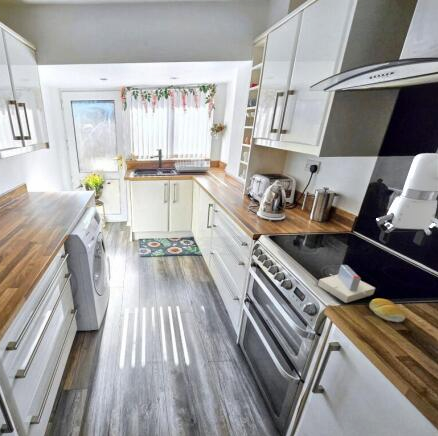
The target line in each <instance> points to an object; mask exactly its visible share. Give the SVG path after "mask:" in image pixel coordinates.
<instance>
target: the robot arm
mask: <svg viewBox="0 0 438 436" xmlns="http://www.w3.org/2000/svg"><path fill="white" fill-rule="evenodd" d="M437 198H438V153H436V152H435V153H433V152H431V153H429V152H426V153H419V154H417V155H416V156H414V157H413V160H412V163H411V165H410V168H409V171H408V173H407V176H406V179H405V183H404V185H403V188H402V190H401V194H400V195H399V196H396V197H395V199H394V200H393V201H392V204H391V205H390V207H389V209H388V211H387V212H386V215H383V216H380V217H377V218H376V219H375V221H376V224H377V227H378V228H379V229H380V230H381V231H380V234H379V238H378V239H379V241H380V242H382V243H383V244H385V245H388V244H389V242H390V238H391V236H392V233H391V232H392V231H394V230H396V229H401V230H404V229H405V230H417V231H416V233H415V235H414V238H413V239H412V242H413V243H414V244H416V245H417V246H419V247H423V246H424V244H425V242H426V240H427V237H428V236H430V235H432V233H434V232H436V231H437V230H438V218H436V213H437V208H438V199H437Z"/></svg>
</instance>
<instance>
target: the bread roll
mask: <svg viewBox="0 0 438 436" xmlns="http://www.w3.org/2000/svg"><path fill="white" fill-rule="evenodd" d="M368 307H369V309H370V311H371V312H373V313H374V315H376V316H377V317H379V318H381V319H383V320H384V321H385V320H386V321H388V322H394V323H401V322H404V321H405V319H406V318H407V316H406V313H405V312H404V311H403V310H402V309H401V308H400V307H398V306H397V304H395V302H393V301H391V300H389V299H385V298H374V299H372V300H371V301H370V302H369V304H368Z"/></svg>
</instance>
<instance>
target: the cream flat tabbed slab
mask: <svg viewBox="0 0 438 436" xmlns="http://www.w3.org/2000/svg"><path fill="white" fill-rule="evenodd" d="M329 275H330V276H327V277H323V278H320V279H319V280H318V283H317V286H318V287H320V288H321V289H322V290H324V291H326V292H328V293H329V294H331V295H332V296H334V297H336V298H337V299H339V300H340V301H342V302H344V303H345V304H347V303H350V302H354V301H357V300H360V299H363V298H367V297H371V296H373V295H374V293H375V291H376V287H375V286H372V285H371V284H369V283H367V282H365V281H362V279H360V282H359V285H358V288H357V291H352V290H349V289H348V288H347V287H346V285H345V284H344V283H343V282H342V281H341V280H340V279H339V277H338V273H337V274H332V273H329Z"/></svg>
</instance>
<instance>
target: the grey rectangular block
mask: <svg viewBox="0 0 438 436" xmlns="http://www.w3.org/2000/svg"><path fill="white" fill-rule="evenodd" d="M337 274H338V277H339V279H340V280H341V281H342V282H343V283H344V284H345V285H346V287H347V288H348V289H349V290H352V291H357V288H358V285H359V282H360V280H362V278H361V277H360V276H359V275H358V274H357V273H356V272H355V271H354V270H353V269H352V268H351V267H350V266H349V265H347V264H340V267H339V270H338V273H337Z"/></svg>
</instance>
